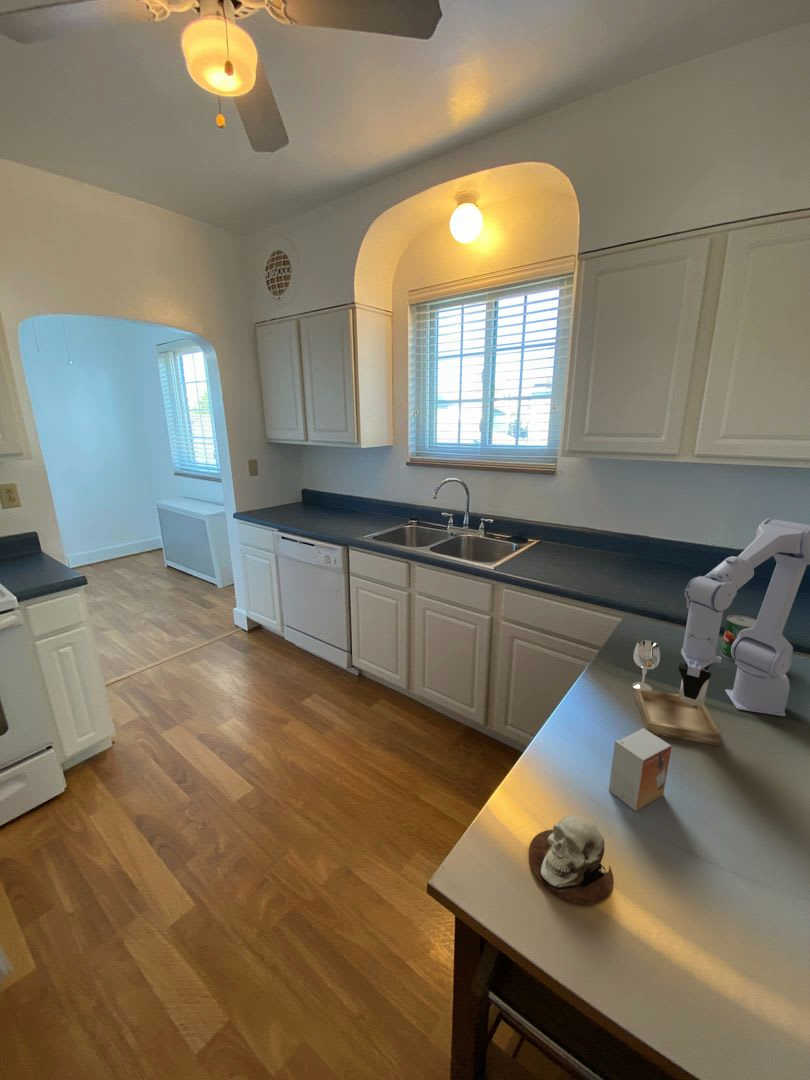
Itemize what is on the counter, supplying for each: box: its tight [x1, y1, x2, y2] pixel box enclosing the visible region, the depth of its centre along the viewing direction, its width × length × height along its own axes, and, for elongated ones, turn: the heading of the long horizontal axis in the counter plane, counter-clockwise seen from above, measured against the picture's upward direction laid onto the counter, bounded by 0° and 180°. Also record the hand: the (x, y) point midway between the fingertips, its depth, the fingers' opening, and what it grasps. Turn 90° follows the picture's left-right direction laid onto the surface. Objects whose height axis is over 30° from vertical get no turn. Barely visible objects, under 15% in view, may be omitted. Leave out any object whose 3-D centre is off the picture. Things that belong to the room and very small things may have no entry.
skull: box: [528, 814, 614, 906], centre depth 67 cm, size 12×10×10 cm
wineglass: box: [631, 639, 661, 691], centre depth 111 cm, size 6×6×12 cm
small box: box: [608, 727, 672, 812], centre depth 79 cm, size 8×6×10 cm
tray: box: [634, 688, 722, 746], centre depth 99 cm, size 14×14×2 cm
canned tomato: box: [720, 614, 758, 662], centre depth 126 cm, size 8×8×11 cm
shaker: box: [678, 668, 710, 706], centre depth 95 cm, size 5×5×7 cm
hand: (691, 691), depth 95 cm, fingers closed on shaker, 5 cm apart
